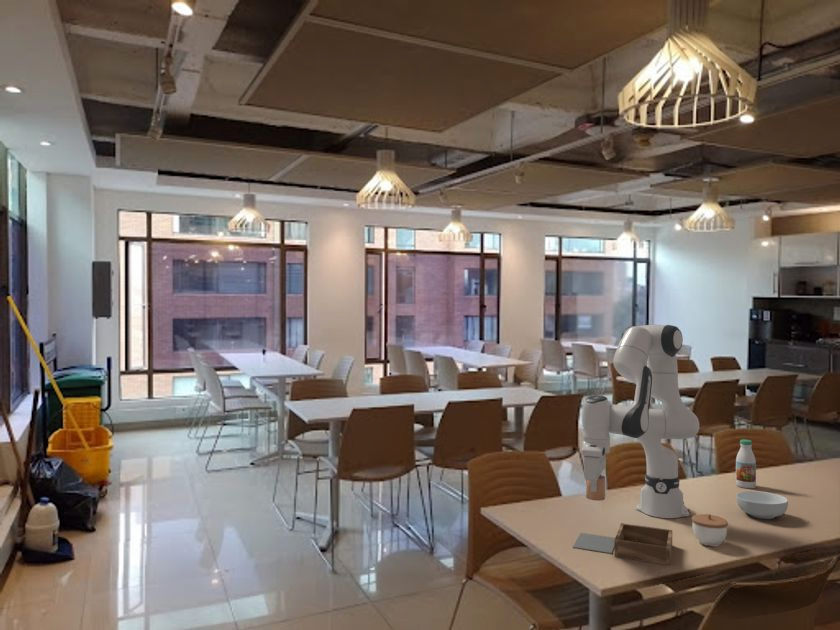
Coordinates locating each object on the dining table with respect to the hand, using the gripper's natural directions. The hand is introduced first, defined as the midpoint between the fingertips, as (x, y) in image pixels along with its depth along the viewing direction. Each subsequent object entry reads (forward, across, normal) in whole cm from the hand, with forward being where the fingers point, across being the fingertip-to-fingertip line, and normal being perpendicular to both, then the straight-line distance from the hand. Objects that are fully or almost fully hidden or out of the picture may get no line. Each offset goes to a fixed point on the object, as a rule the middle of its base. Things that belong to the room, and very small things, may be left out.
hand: (595, 488), depth 204 cm
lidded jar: (+18, -16, +34) cm, 42 cm away
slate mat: (+18, 0, 0) cm, 18 cm away
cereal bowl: (+18, -54, +52) cm, 77 cm away
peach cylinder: (+3, 0, 0) cm, 3 cm away
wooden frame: (+18, 0, +15) cm, 24 cm away
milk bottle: (+18, -95, +49) cm, 108 cm away
